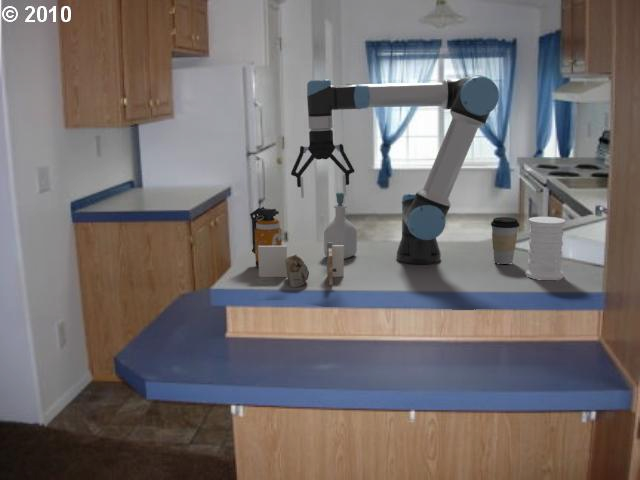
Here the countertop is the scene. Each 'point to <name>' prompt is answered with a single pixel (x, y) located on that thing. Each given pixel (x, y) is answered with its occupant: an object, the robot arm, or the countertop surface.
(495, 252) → the coffee cup
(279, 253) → the wall
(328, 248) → the door
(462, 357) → the countertop surface
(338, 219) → the soap bottle
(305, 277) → the rock
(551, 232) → the decorative container
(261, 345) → the countertop surface
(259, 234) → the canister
